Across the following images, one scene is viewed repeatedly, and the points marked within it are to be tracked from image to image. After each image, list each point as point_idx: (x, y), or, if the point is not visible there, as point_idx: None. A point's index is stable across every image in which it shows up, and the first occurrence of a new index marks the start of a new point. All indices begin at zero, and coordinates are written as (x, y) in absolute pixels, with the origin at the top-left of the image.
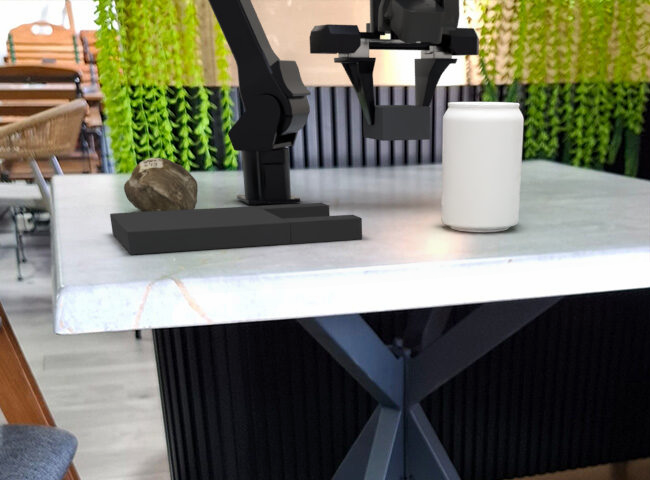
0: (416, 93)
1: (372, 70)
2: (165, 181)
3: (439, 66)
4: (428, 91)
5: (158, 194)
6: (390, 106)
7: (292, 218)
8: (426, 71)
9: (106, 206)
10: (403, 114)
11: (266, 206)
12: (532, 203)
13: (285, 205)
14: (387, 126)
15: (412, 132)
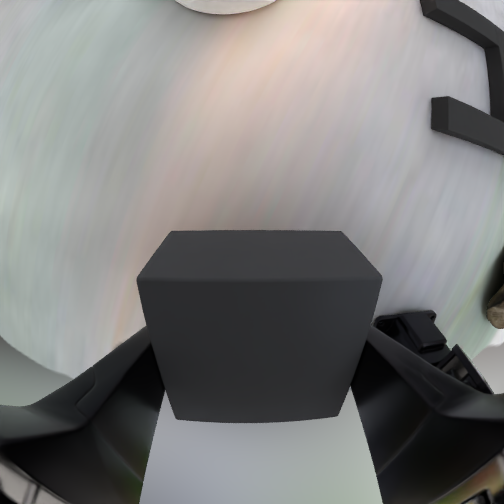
0: (152, 424)
1: (463, 415)
2: None
3: (11, 419)
4: (110, 376)
5: None
6: (306, 342)
7: (492, 39)
8: (92, 456)
9: (497, 338)
10: (277, 264)
11: (501, 140)
12: (33, 194)
13: (486, 134)
14: (338, 247)
15: (235, 236)
